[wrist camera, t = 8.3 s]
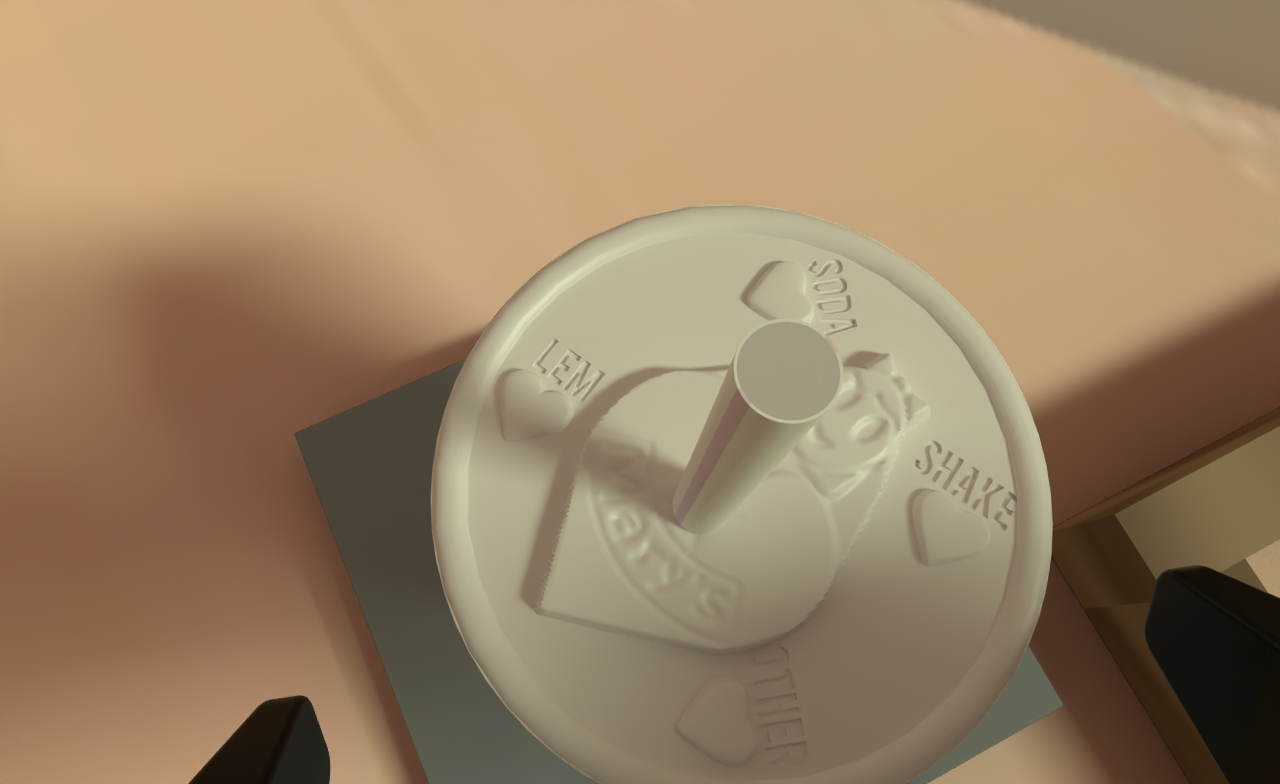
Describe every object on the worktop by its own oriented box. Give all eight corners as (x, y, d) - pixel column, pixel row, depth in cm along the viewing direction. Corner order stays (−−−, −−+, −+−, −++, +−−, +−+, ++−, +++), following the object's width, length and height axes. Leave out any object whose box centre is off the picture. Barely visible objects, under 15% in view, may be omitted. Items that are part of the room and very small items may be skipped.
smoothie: (464, 516, 18) (36, 119, 4) (718, 368, 19) (980, -299, 6) (622, 800, 16) (690, 1466, 3) (887, 620, 18) (1783, 528, 4)
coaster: (523, 996, 16) (518, 1017, 15) (309, 444, 19) (294, 433, 18) (1039, 702, 18) (1063, 705, 17) (772, 242, 21) (780, 223, 20)
